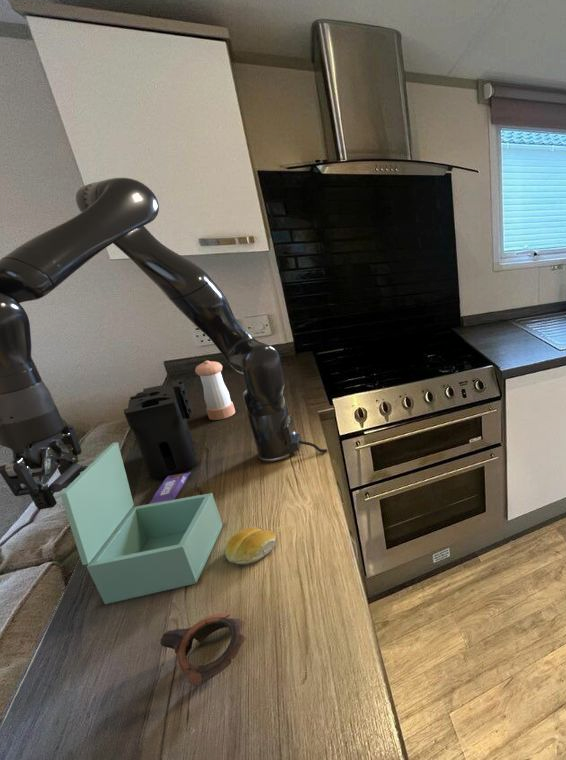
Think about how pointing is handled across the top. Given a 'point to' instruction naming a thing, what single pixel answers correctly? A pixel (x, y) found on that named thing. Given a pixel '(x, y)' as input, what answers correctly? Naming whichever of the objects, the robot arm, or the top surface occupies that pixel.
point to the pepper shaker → (215, 391)
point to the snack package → (170, 488)
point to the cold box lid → (95, 500)
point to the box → (157, 548)
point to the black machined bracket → (162, 428)
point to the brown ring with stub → (200, 631)
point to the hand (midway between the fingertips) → (61, 493)
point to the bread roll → (249, 545)
